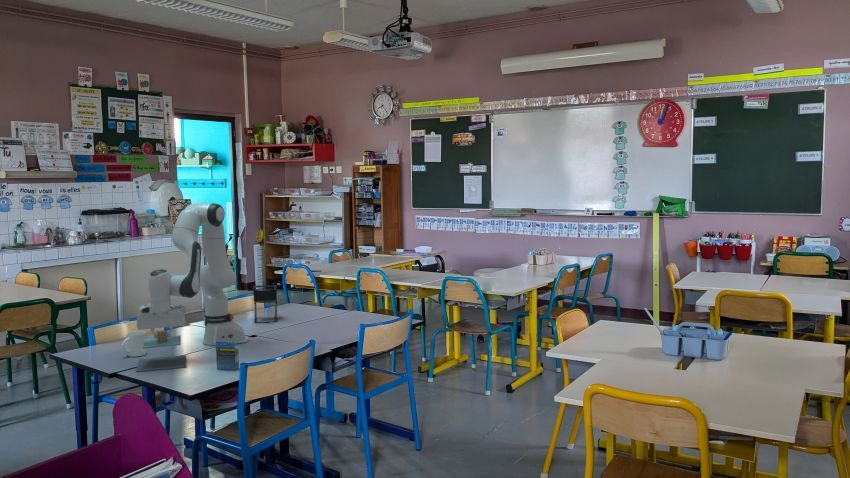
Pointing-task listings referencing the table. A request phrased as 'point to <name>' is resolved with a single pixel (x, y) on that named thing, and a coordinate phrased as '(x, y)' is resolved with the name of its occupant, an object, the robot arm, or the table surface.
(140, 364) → the mat
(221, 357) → the label tape cartridge
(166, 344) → the lid
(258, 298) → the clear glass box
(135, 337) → the mug
